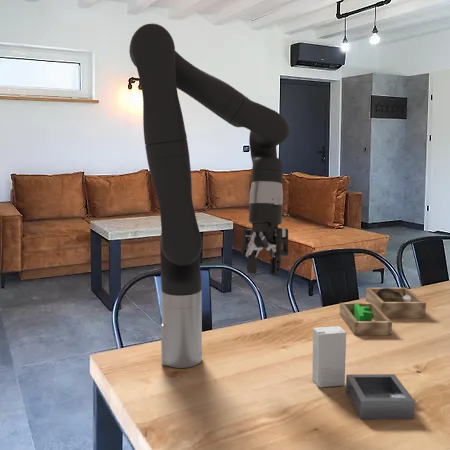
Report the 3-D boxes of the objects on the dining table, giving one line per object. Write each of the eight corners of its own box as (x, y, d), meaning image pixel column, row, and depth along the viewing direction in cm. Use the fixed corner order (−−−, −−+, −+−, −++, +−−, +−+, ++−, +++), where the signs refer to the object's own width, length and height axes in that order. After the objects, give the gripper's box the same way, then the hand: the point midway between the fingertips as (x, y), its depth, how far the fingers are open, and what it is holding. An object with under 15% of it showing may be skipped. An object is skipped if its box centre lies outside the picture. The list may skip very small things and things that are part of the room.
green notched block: (372, 332, 140) (373, 316, 140) (358, 331, 141) (359, 315, 140) (366, 317, 151) (367, 303, 150) (353, 317, 152) (354, 302, 151)
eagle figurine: (396, 299, 164) (371, 297, 162) (407, 285, 160) (382, 282, 157) (405, 319, 159) (380, 316, 156) (417, 304, 154) (391, 301, 152)
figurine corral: (381, 317, 151) (381, 303, 150) (365, 301, 167) (366, 287, 166) (425, 317, 151) (426, 302, 150) (405, 300, 167) (406, 287, 166)
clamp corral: (354, 335, 137) (354, 322, 137) (339, 314, 154) (339, 302, 154) (391, 334, 138) (392, 322, 137) (372, 313, 154) (373, 302, 154)
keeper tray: (360, 419, 96) (361, 401, 95) (345, 390, 107) (346, 374, 106) (413, 418, 96) (414, 400, 95) (393, 390, 107) (394, 374, 106)
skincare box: (337, 377, 113) (339, 324, 111) (345, 386, 108) (347, 332, 106) (310, 379, 112) (312, 326, 110) (317, 389, 107) (319, 334, 105)
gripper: (234, 203, 121) (231, 272, 120) (272, 199, 109) (269, 276, 108) (260, 206, 125) (257, 273, 124) (299, 202, 113) (296, 276, 112)
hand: (262, 274), depth 116 cm, fingers open, 8 cm apart
